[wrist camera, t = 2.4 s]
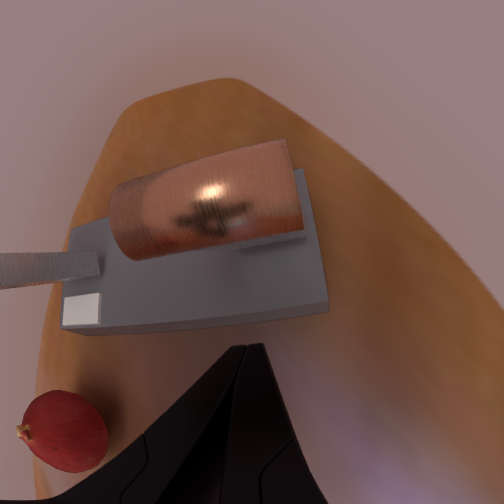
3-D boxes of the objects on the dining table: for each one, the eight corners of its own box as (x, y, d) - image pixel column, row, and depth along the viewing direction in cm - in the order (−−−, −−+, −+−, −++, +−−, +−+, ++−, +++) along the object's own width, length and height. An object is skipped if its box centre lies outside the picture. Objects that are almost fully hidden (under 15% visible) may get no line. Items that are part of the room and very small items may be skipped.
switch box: (328, 311, 17) (328, 299, 14) (86, 335, 20) (56, 328, 17) (307, 194, 20) (302, 165, 17) (94, 243, 24) (68, 227, 21)
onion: (108, 476, 16) (29, 495, 8) (67, 421, 18) (-12, 420, 11) (144, 434, 16) (56, 451, 9) (97, 376, 19) (11, 366, 12)
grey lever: (100, 278, 18) (-33, 295, 8) (62, 285, 18) (-55, 300, 9) (96, 248, 18) (-38, 247, 8) (58, 258, 18) (-59, 261, 9)
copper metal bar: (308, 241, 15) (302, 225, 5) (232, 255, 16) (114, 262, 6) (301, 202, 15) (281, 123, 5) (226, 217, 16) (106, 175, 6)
